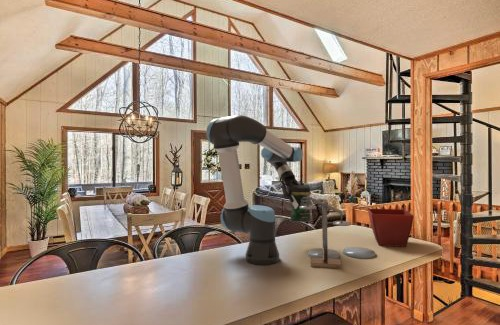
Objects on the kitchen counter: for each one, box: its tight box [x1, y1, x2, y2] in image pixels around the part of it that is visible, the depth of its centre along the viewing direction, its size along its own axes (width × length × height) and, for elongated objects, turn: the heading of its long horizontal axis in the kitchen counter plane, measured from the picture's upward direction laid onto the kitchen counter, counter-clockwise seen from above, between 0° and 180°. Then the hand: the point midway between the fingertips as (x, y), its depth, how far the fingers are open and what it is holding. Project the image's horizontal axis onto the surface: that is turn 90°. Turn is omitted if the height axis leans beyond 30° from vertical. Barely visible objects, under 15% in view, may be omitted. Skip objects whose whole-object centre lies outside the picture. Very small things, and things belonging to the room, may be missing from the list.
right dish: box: [342, 246, 376, 259], centre depth 132 cm, size 14×14×1 cm
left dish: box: [308, 247, 341, 259], centre depth 130 cm, size 14×14×1 cm
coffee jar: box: [290, 184, 311, 223], centre depth 146 cm, size 10×8×19 cm
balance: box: [300, 196, 352, 269], centre depth 118 cm, size 21×7×29 cm, turn 78°
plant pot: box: [367, 208, 414, 247], centre depth 150 cm, size 19×19×17 cm
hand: (304, 206), depth 143 cm, fingers closed on coffee jar, 9 cm apart
